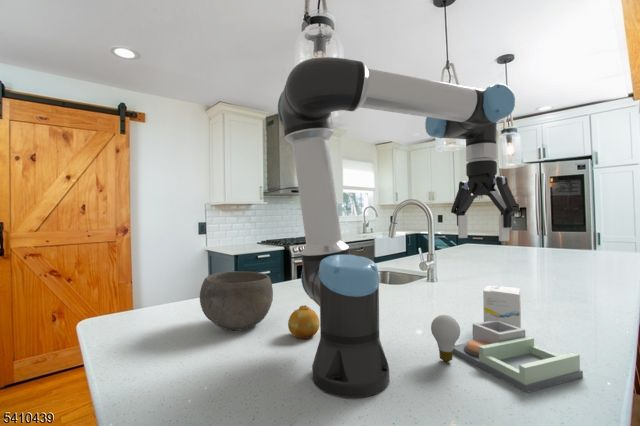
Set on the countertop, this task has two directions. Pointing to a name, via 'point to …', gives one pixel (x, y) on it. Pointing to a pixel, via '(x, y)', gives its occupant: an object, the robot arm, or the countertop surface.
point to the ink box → (502, 304)
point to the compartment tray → (518, 357)
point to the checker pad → (475, 345)
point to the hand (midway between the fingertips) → (482, 239)
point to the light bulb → (445, 335)
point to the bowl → (236, 298)
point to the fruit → (303, 322)
